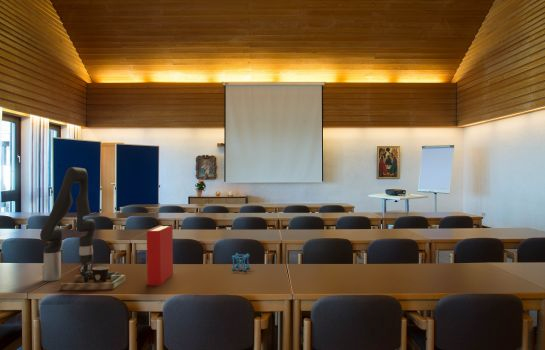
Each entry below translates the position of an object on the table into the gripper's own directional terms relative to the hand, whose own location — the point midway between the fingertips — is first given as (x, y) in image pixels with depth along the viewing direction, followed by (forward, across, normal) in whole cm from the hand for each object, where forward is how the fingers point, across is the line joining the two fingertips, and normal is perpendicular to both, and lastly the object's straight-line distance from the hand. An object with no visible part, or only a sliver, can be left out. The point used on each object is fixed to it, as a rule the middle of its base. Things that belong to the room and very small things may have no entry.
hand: (86, 282), depth 242 cm
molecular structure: (+2, -37, +88) cm, 96 cm away
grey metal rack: (+2, -4, +4) cm, 6 cm away
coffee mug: (+1, 0, +7) cm, 7 cm away
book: (+2, -12, +40) cm, 42 cm away
